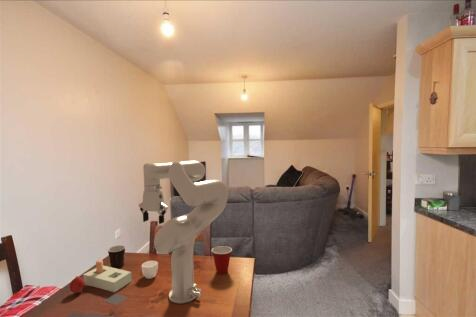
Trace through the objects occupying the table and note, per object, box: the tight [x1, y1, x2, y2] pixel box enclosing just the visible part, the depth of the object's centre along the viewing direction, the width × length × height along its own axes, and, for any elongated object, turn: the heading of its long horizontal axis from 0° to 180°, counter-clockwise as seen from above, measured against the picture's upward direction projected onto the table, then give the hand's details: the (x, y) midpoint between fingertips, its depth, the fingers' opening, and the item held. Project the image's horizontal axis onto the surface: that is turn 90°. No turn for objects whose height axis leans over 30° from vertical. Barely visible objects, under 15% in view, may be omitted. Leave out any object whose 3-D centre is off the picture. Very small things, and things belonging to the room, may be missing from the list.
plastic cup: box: [211, 245, 233, 275], centre depth 133 cm, size 11×11×12 cm
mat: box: [103, 292, 129, 306], centre depth 110 cm, size 8×6×1 cm
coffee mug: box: [107, 244, 126, 269], centre depth 139 cm, size 12×9×10 cm
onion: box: [69, 275, 86, 294], centre depth 116 cm, size 6×6×8 cm
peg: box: [95, 259, 104, 274], centre depth 125 cm, size 3×3×10 cm
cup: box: [141, 260, 159, 279], centre depth 130 cm, size 8×10×7 cm
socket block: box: [82, 264, 132, 293], centre depth 124 cm, size 20×10×5 cm, turn 68°
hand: (153, 222), depth 127 cm, fingers open, 9 cm apart
